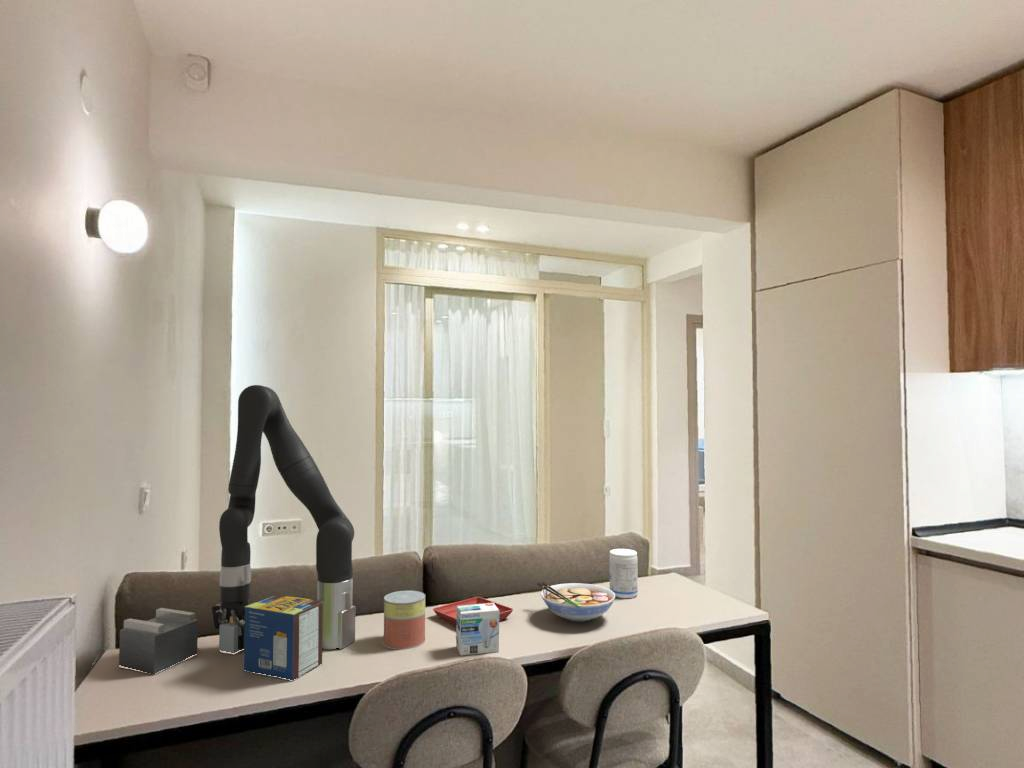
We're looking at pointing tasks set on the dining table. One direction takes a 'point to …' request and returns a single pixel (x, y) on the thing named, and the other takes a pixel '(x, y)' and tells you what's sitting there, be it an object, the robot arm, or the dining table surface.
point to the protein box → (283, 636)
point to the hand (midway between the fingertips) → (233, 646)
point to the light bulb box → (477, 629)
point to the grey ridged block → (158, 640)
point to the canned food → (404, 619)
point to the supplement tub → (623, 573)
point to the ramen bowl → (577, 600)
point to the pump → (229, 636)
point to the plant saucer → (450, 610)
